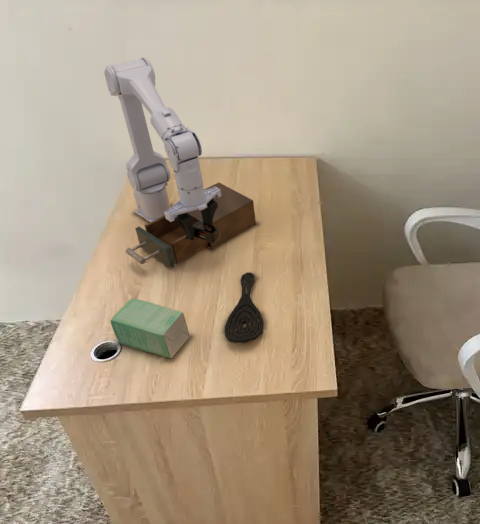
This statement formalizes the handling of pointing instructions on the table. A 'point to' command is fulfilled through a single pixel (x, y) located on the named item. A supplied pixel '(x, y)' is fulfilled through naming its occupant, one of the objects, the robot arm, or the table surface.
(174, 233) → the drawer
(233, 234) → the cabinet
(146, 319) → the box
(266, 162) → the table surface
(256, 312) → the hairbrush
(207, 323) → the table surface
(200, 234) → the wireless earbuds
